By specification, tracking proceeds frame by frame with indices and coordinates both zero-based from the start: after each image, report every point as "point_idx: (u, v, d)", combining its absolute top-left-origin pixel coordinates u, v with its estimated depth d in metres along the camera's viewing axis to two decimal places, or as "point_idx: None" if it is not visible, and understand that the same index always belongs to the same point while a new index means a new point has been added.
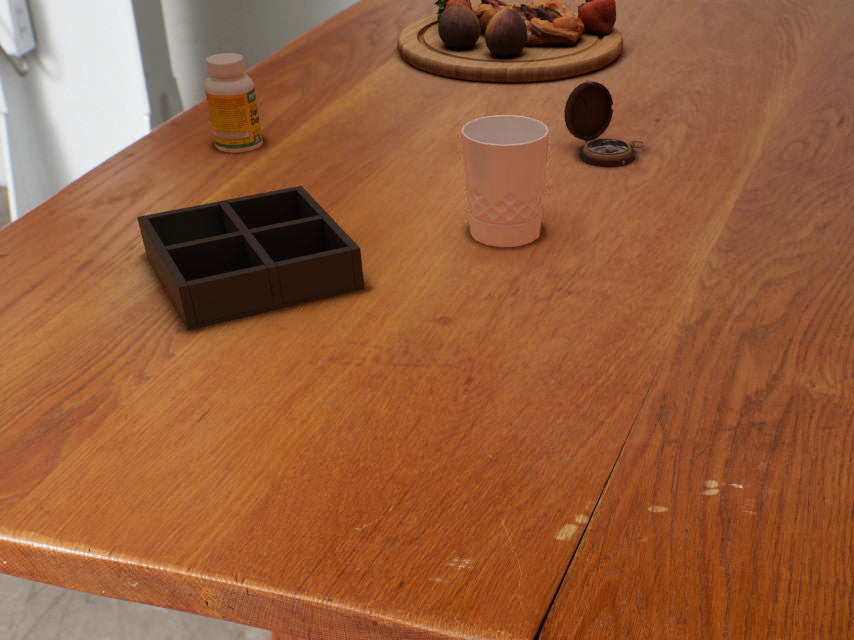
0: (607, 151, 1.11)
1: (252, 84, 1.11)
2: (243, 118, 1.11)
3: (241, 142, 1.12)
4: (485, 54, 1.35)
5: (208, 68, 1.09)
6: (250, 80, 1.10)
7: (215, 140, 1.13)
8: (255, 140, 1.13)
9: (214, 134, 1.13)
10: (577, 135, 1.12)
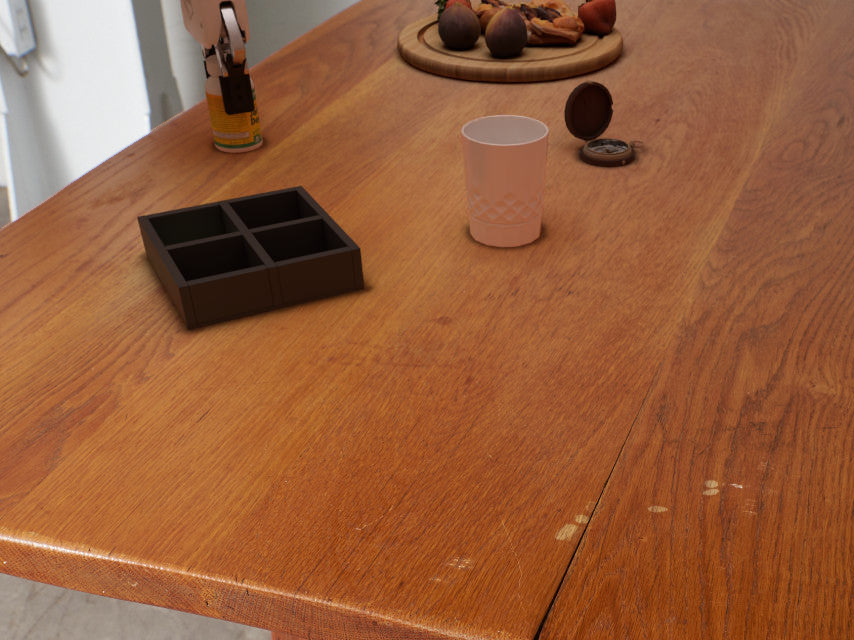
0: (607, 151, 1.11)
1: (252, 84, 1.11)
2: (243, 118, 1.11)
3: (241, 142, 1.12)
4: (485, 54, 1.35)
5: (208, 68, 1.09)
6: (250, 80, 1.10)
7: (215, 140, 1.13)
8: (255, 140, 1.13)
9: (214, 134, 1.13)
10: (577, 135, 1.12)
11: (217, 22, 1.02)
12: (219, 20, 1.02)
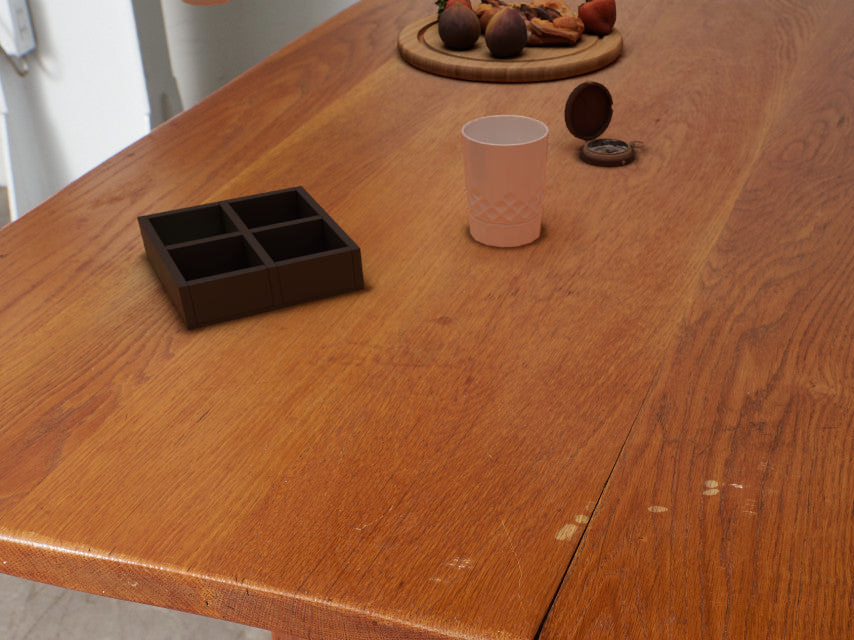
0: (607, 151, 1.11)
1: None
2: None
3: None
4: (485, 54, 1.35)
5: None
6: None
7: None
8: None
9: None
10: (577, 135, 1.12)
11: None
12: None
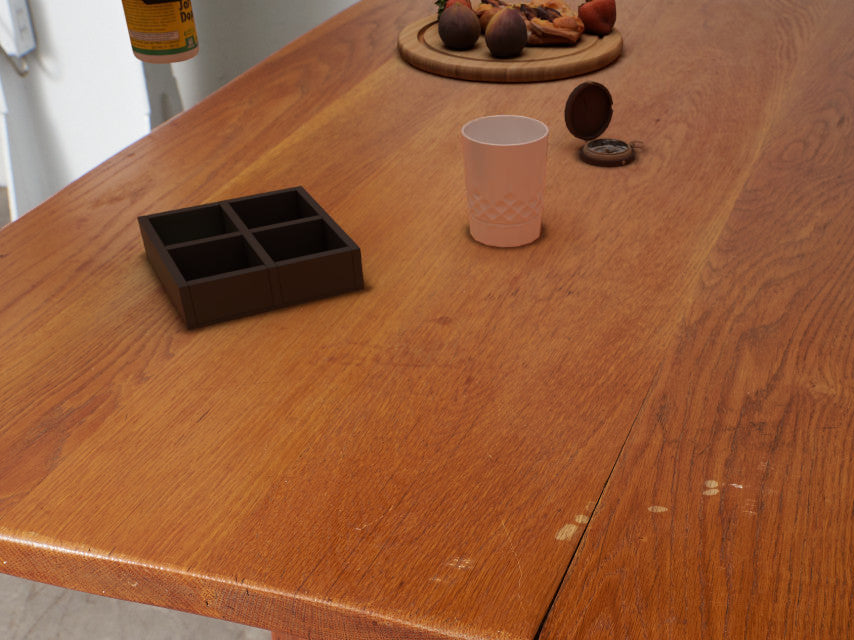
0: (607, 151, 1.11)
1: None
2: (169, 12, 0.79)
3: (168, 46, 0.81)
4: (485, 54, 1.35)
5: None
6: None
7: (132, 45, 0.82)
8: (187, 44, 0.82)
9: (130, 36, 0.81)
10: (577, 135, 1.12)
11: None
12: None
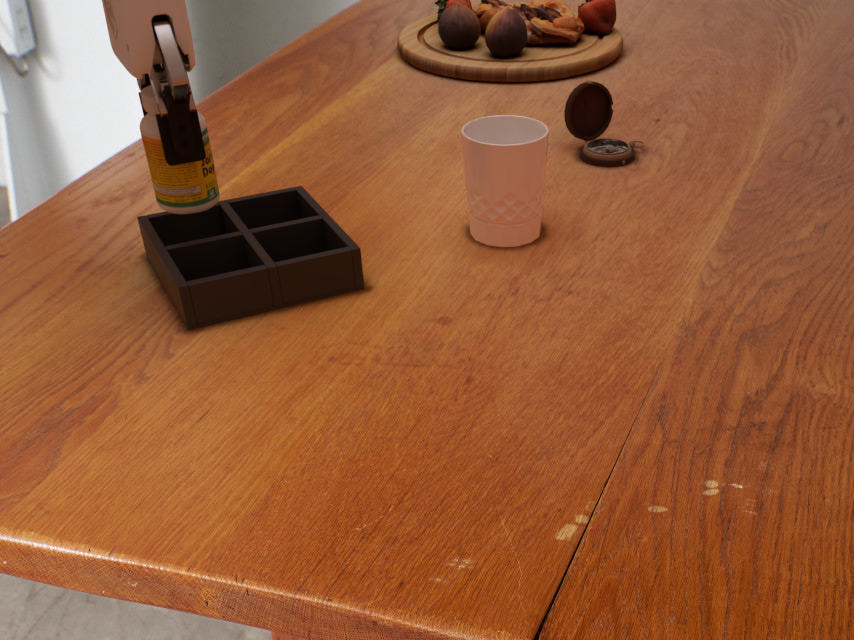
0: (607, 151, 1.11)
1: (203, 123, 0.83)
2: (191, 169, 0.84)
3: (190, 199, 0.85)
4: (485, 54, 1.35)
5: (143, 103, 0.81)
6: (201, 118, 0.83)
7: (156, 196, 0.86)
8: (209, 196, 0.86)
9: (155, 188, 0.85)
10: (577, 135, 1.12)
11: (149, 43, 0.75)
12: (152, 41, 0.75)
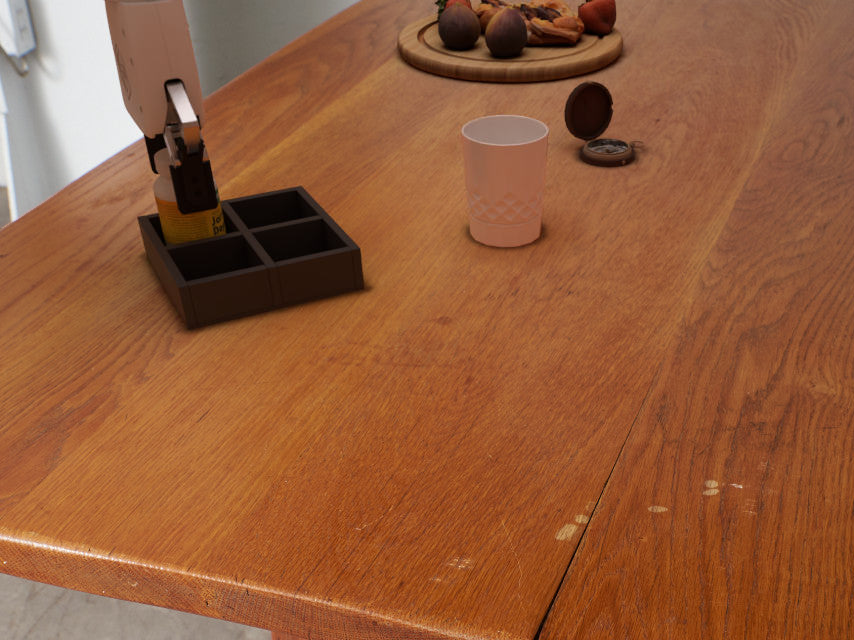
0: (607, 151, 1.11)
1: None
2: (203, 228, 0.87)
3: None
4: (485, 54, 1.35)
5: (157, 167, 0.85)
6: None
7: None
8: None
9: None
10: (577, 135, 1.12)
11: (161, 106, 0.78)
12: (164, 104, 0.78)
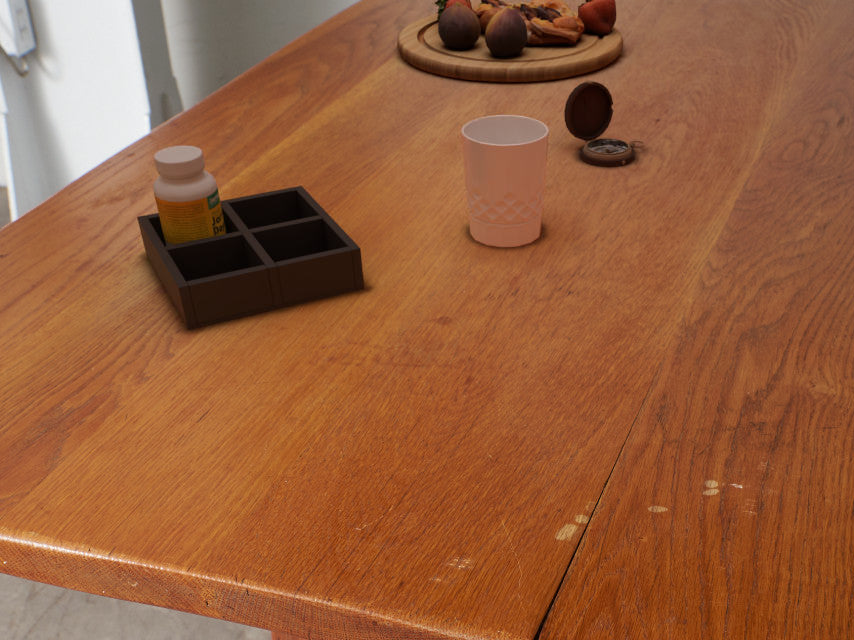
0: (607, 151, 1.11)
1: (214, 185, 0.87)
2: (203, 228, 0.87)
3: None
4: (485, 54, 1.35)
5: (157, 167, 0.85)
6: (212, 180, 0.86)
7: None
8: None
9: None
10: (577, 135, 1.12)
11: None
12: None
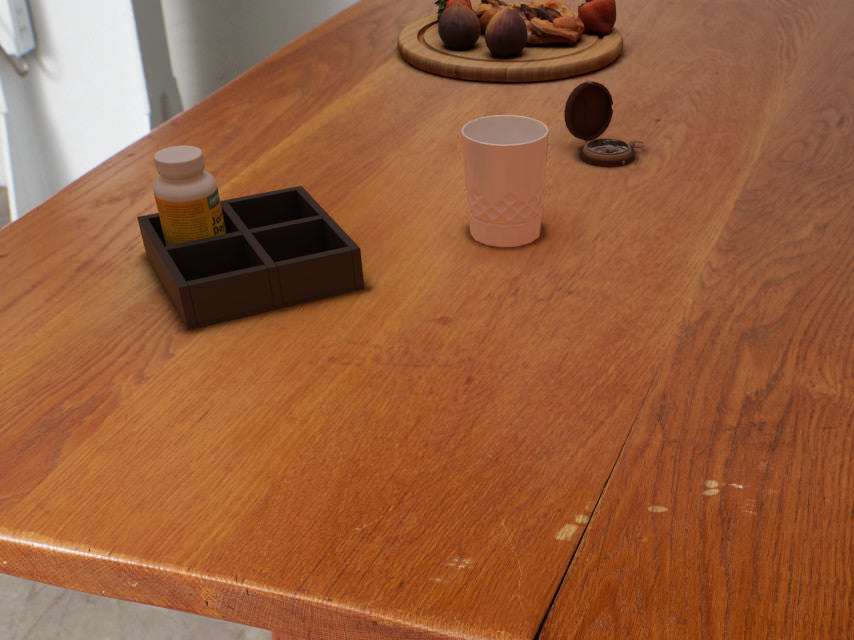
0: (607, 151, 1.11)
1: (214, 185, 0.87)
2: (203, 228, 0.87)
3: None
4: (485, 54, 1.35)
5: (157, 167, 0.85)
6: (212, 180, 0.86)
7: None
8: None
9: None
10: (577, 135, 1.12)
11: None
12: None
